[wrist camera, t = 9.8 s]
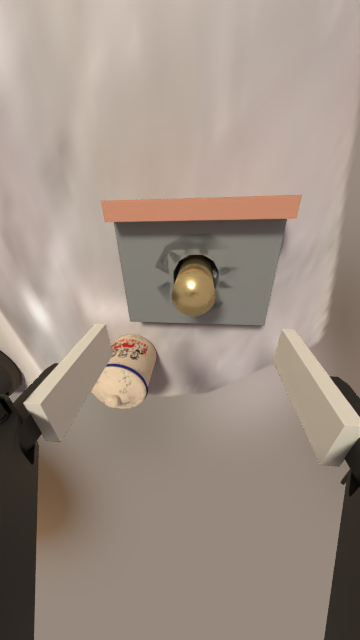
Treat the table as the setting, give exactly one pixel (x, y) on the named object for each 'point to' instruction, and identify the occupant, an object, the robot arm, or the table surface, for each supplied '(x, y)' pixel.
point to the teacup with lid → (126, 373)
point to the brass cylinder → (194, 286)
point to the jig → (201, 252)
